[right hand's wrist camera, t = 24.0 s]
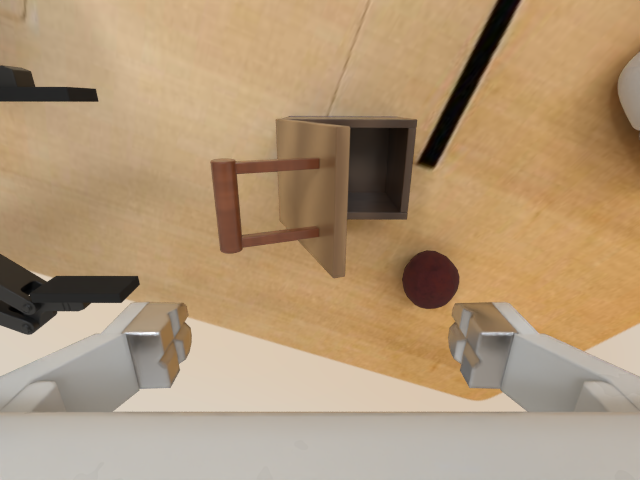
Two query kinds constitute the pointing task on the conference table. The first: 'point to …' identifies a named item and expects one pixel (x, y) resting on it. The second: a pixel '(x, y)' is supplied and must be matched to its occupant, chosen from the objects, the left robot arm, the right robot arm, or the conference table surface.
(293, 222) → the lid
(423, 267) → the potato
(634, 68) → the white rounded block
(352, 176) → the chest
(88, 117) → the conference table surface
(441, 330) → the conference table surface
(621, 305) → the conference table surface
